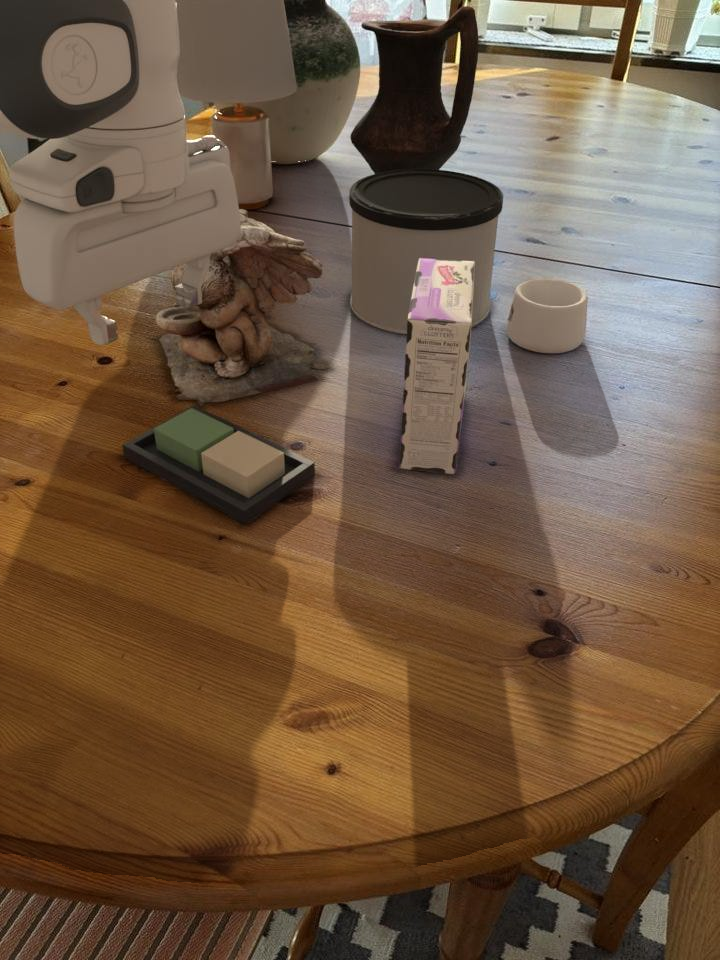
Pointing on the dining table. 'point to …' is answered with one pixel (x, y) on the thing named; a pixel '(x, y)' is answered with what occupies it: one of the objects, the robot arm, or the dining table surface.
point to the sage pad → (190, 436)
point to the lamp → (237, 79)
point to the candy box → (436, 364)
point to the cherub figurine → (240, 320)
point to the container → (418, 238)
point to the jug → (417, 93)
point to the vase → (313, 84)
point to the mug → (548, 316)
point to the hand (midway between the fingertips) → (148, 322)
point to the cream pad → (243, 464)
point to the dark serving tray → (212, 491)
